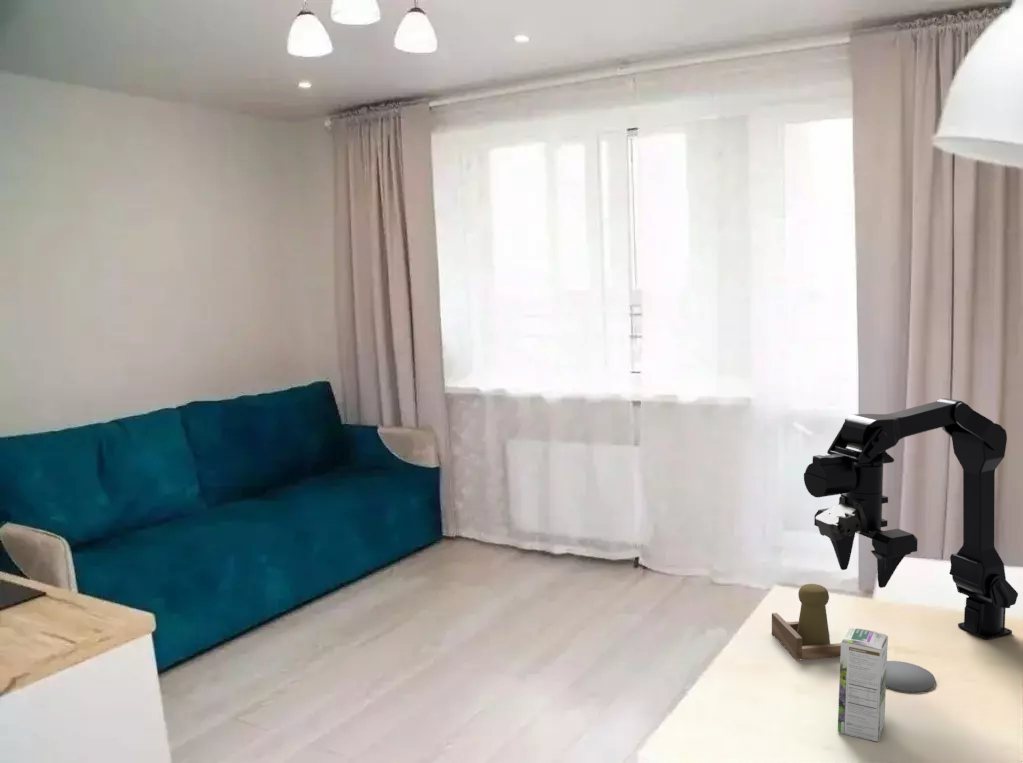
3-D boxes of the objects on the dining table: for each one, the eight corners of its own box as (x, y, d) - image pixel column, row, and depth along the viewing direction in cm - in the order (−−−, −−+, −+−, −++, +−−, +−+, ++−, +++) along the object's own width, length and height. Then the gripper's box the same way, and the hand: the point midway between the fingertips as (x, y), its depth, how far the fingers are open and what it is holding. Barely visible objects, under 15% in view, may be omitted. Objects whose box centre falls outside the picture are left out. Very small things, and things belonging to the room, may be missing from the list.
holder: (823, 629, 162) (823, 609, 162) (851, 655, 152) (851, 634, 151) (771, 633, 161) (771, 613, 161) (796, 660, 151) (796, 638, 150)
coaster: (902, 659, 150) (902, 656, 149) (949, 685, 140) (949, 682, 140) (855, 670, 146) (855, 667, 146) (900, 697, 137) (900, 694, 137)
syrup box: (844, 715, 132) (846, 625, 130) (886, 724, 129) (888, 632, 127) (837, 733, 127) (838, 640, 125) (880, 743, 124) (882, 648, 122)
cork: (825, 637, 159) (826, 580, 158) (834, 651, 153) (835, 592, 152) (792, 636, 160) (792, 580, 158) (799, 651, 154) (800, 592, 152)
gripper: (789, 482, 152) (788, 567, 154) (865, 510, 135) (863, 605, 137) (841, 475, 156) (839, 558, 158) (921, 501, 138) (918, 594, 140)
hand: (862, 578), depth 148 cm, fingers open, 9 cm apart
